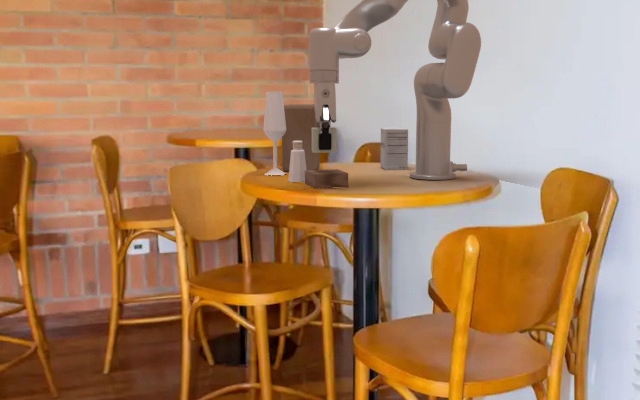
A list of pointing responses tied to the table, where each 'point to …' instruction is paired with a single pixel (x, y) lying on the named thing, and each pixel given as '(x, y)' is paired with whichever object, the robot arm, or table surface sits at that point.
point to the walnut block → (326, 178)
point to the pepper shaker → (297, 163)
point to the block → (299, 134)
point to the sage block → (316, 141)
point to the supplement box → (394, 148)
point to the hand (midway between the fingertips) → (324, 148)
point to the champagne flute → (274, 124)
